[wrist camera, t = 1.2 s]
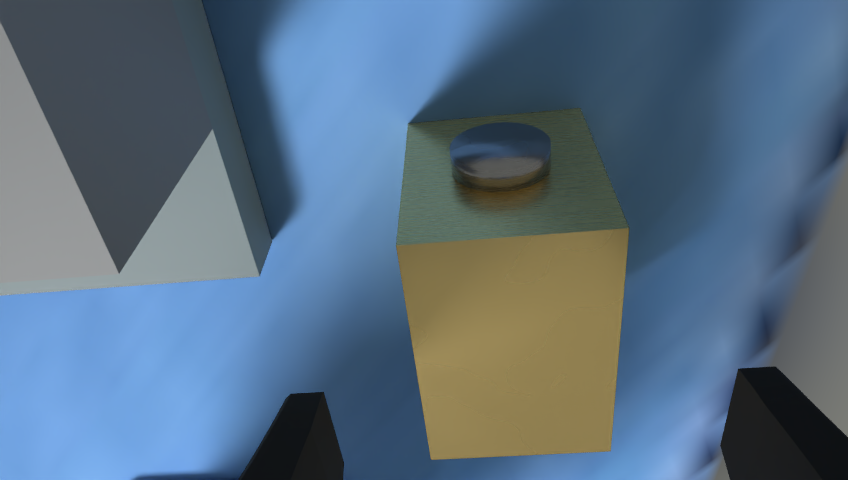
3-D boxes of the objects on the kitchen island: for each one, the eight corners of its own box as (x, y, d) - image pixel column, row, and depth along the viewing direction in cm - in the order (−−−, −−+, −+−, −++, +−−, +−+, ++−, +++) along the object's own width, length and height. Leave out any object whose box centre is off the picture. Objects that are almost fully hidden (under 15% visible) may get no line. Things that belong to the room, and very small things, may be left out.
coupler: (580, 86, 15) (631, 203, 11) (573, 316, 19) (609, 465, 15) (405, 102, 15) (392, 221, 11) (435, 325, 19) (433, 473, 15)
